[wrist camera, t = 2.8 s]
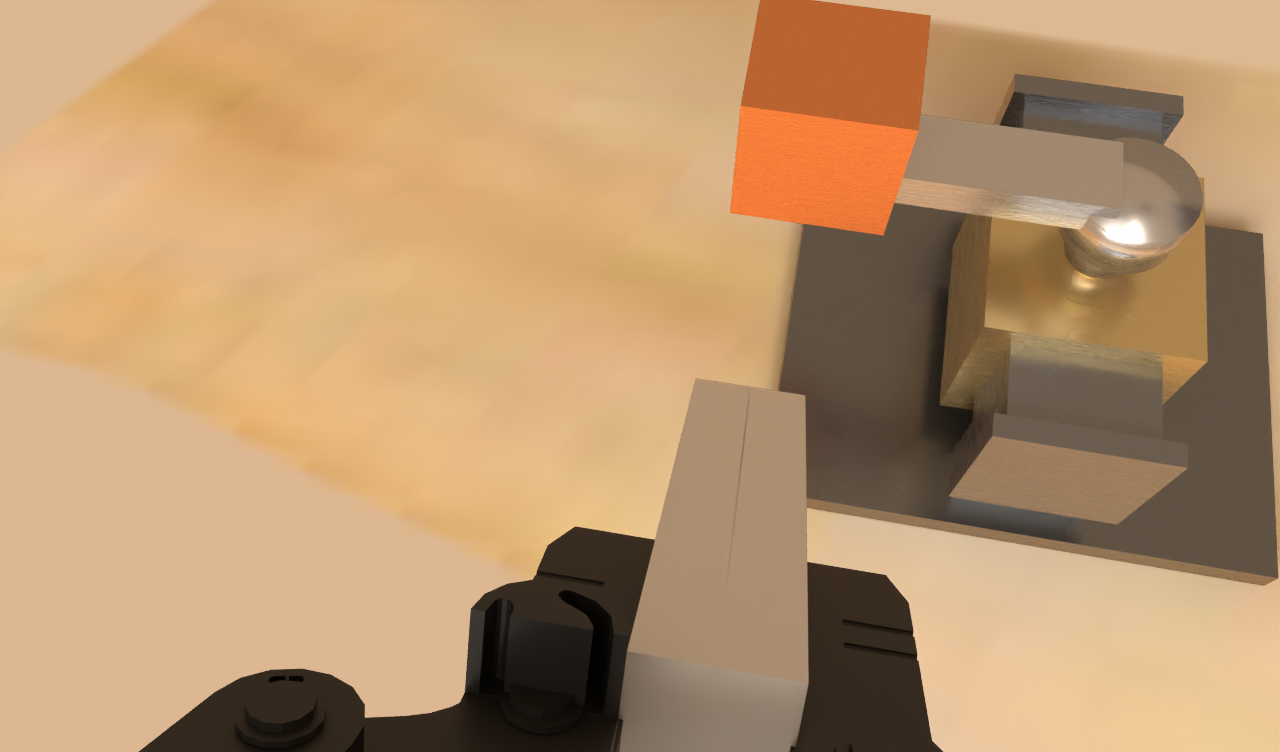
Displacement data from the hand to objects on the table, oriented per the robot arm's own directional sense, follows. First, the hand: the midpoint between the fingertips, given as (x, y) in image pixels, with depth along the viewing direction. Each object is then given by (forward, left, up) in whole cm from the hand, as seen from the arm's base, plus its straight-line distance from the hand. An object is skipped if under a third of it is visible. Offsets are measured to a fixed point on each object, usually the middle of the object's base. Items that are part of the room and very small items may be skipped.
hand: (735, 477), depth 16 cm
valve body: (-8, -11, -16) cm, 21 cm away
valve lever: (-4, -11, -8) cm, 14 cm away
